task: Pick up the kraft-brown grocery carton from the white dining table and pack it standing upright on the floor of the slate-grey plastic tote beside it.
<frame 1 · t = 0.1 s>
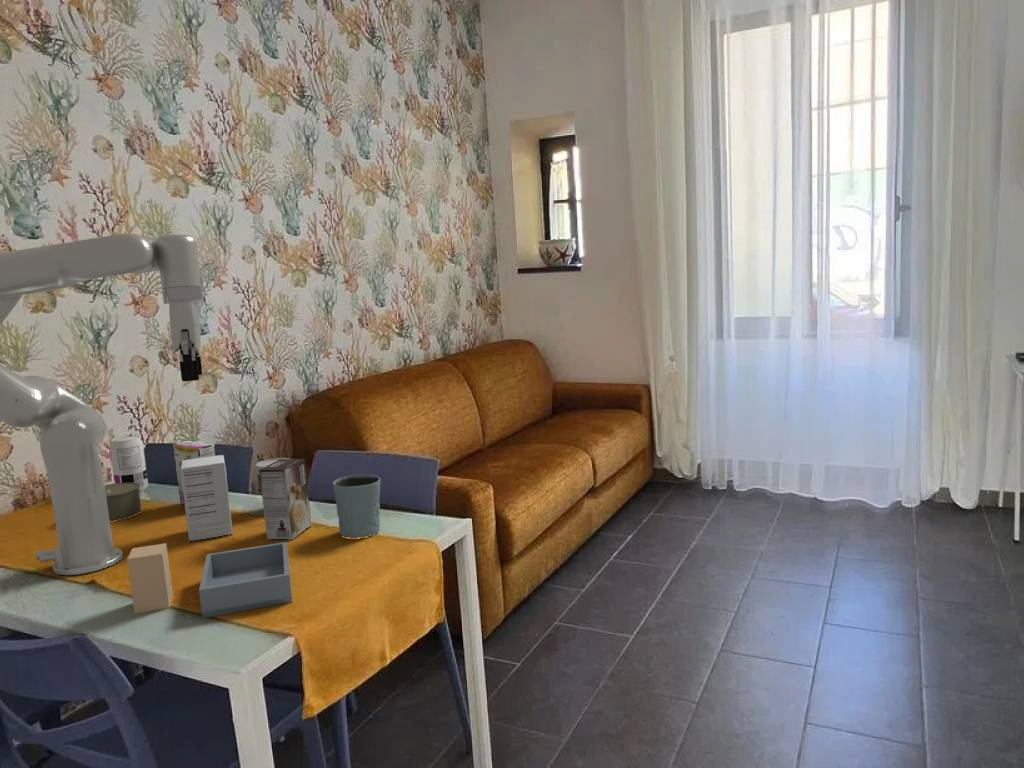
hand: (192, 377, 154), 37 cm above the table, tool pointing down, fingers open, 9 cm apart
tote: (249, 590, 134), on the table
supplement box: (211, 533, 167), on the table
disposable coffee cup: (278, 509, 182), on the table
candy bar box: (201, 506, 189), on the table
carton: (154, 604, 130), on the table
can: (116, 516, 184), on the table
coffee box: (289, 534, 164), on the table
supplement can: (132, 491, 207), on the table
teal cup: (361, 533, 162), on the table
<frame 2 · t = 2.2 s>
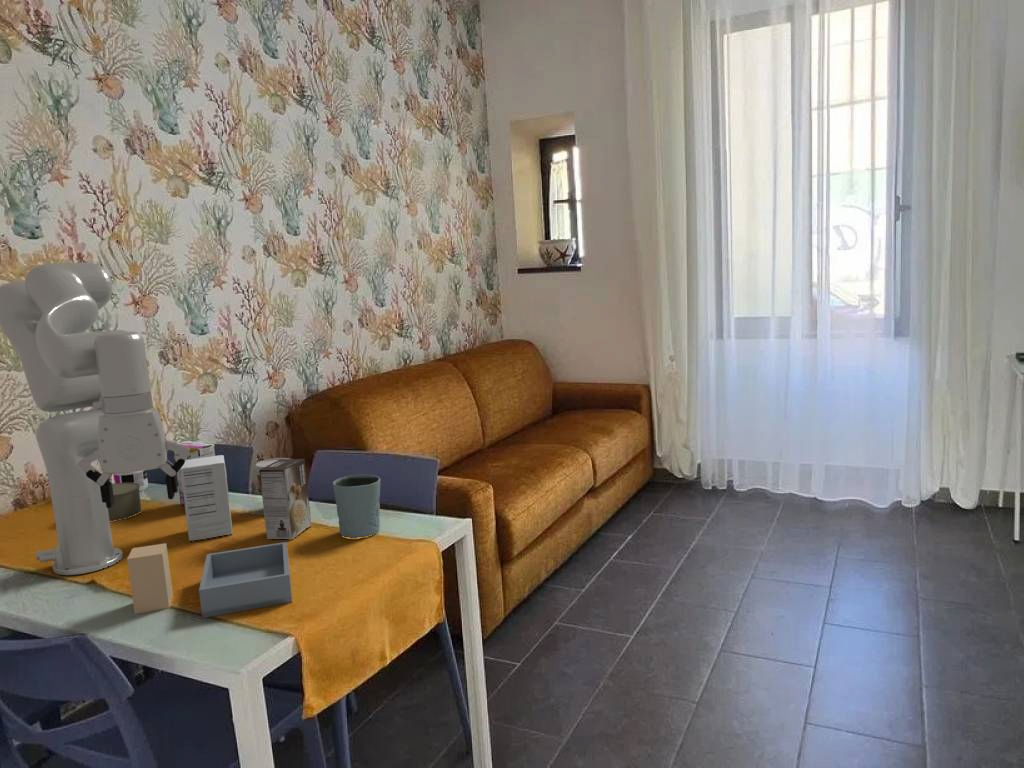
hand: (141, 501, 127), 19 cm above the table, tool pointing down, fingers open, 9 cm apart
nothing on the table moved.
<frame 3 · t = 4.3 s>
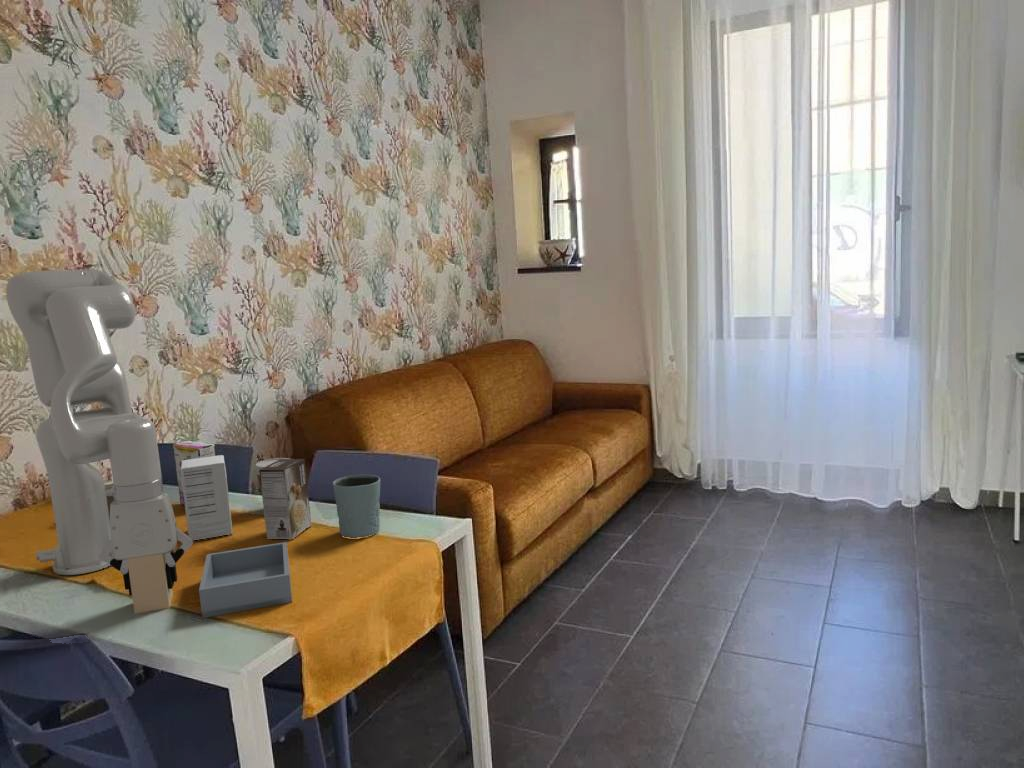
hand: (152, 588, 130), 3 cm above the table, tool pointing down, fingers closed on carton, 5 cm apart
carton: (154, 604, 130), on the table, touching gripper
everything else where it was.
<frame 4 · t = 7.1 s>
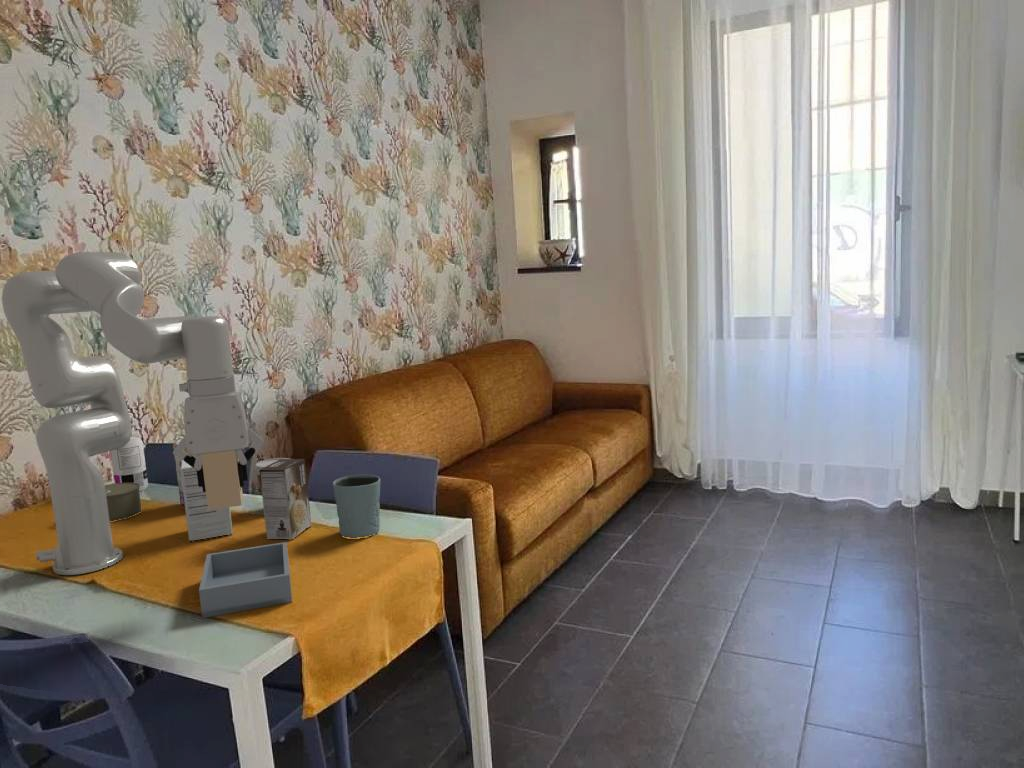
hand: (224, 486, 131), 20 cm above the table, tool pointing down, fingers closed on carton, 5 cm apart
carton: (226, 503, 131), point 17 cm above the table, touching gripper
everything else where it was.
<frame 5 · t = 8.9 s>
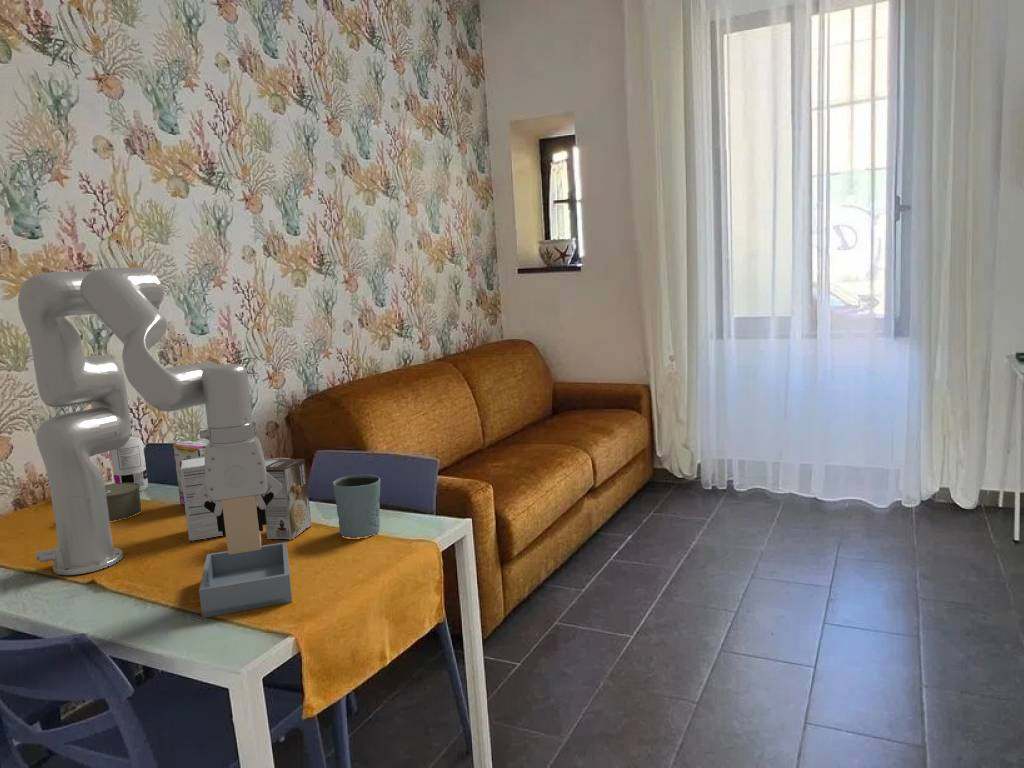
hand: (243, 530, 133), 11 cm above the table, tool pointing down, fingers closed on carton, 5 cm apart
carton: (245, 547, 133), point 8 cm above the table, touching gripper
everything else where it was.
when the fingers open (5 cm above the table, at t = 10.4 s): carton drops 1 cm, resting on tote.
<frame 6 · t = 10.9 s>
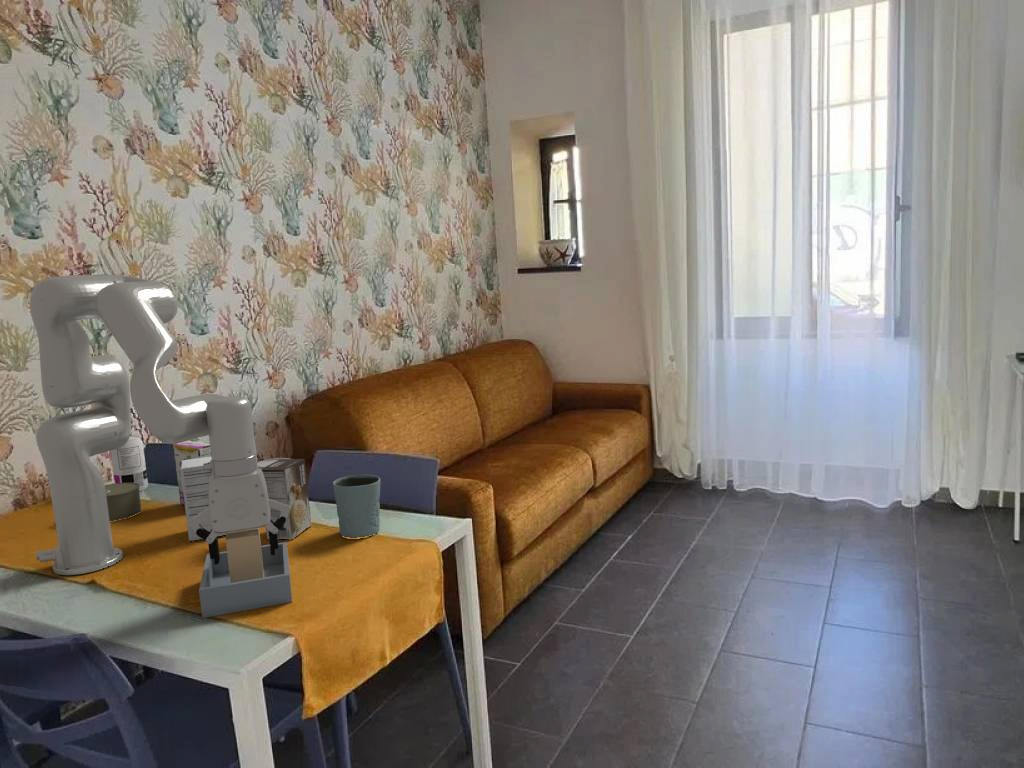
hand: (245, 557, 133), 6 cm above the table, tool pointing down, fingers open, 9 cm apart
carton: (248, 584, 134), point 1 cm above the table, touching tote
everything else where it was.
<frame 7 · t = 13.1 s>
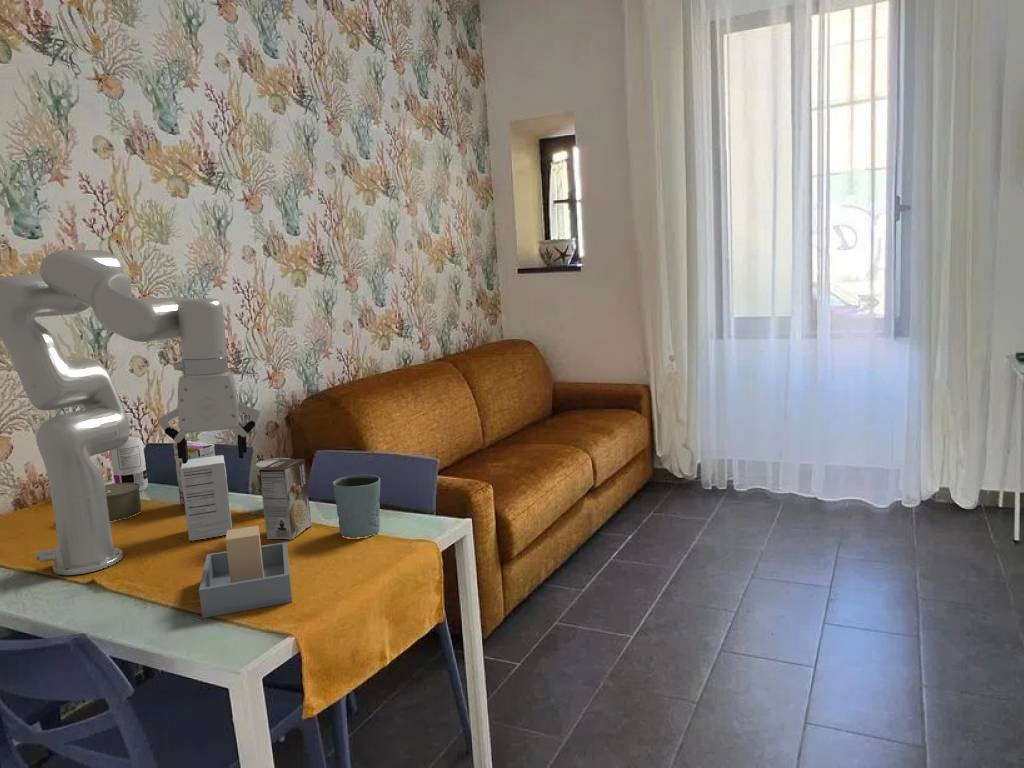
hand: (213, 459, 135), 24 cm above the table, tool pointing down, fingers open, 9 cm apart
nothing on the table moved.
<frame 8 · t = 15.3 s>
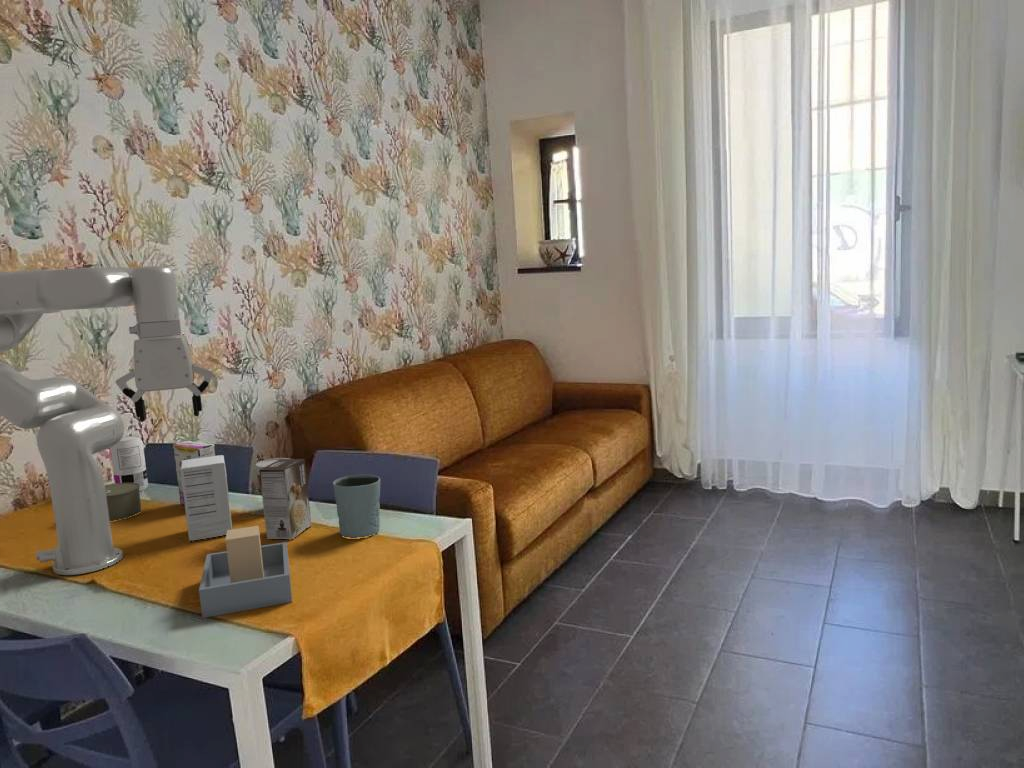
hand: (170, 417, 144), 30 cm above the table, tool pointing down, fingers open, 9 cm apart
nothing on the table moved.
at the end: carton inside the target area on the tote (0.0 cm from its centre), point 1.0 cm above the tote's base; carton tilted 0°; the gripper is holding nothing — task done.
